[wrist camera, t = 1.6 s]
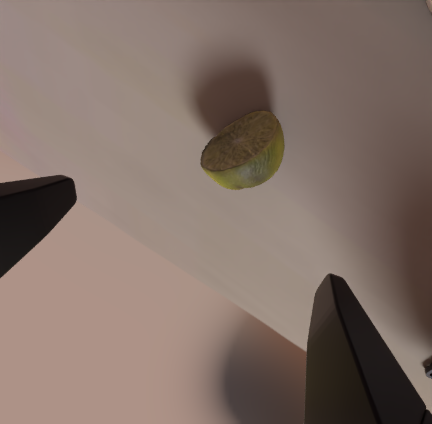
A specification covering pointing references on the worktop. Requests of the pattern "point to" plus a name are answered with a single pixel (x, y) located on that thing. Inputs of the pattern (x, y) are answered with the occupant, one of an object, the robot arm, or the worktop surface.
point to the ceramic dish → (429, 4)
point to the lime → (245, 151)
